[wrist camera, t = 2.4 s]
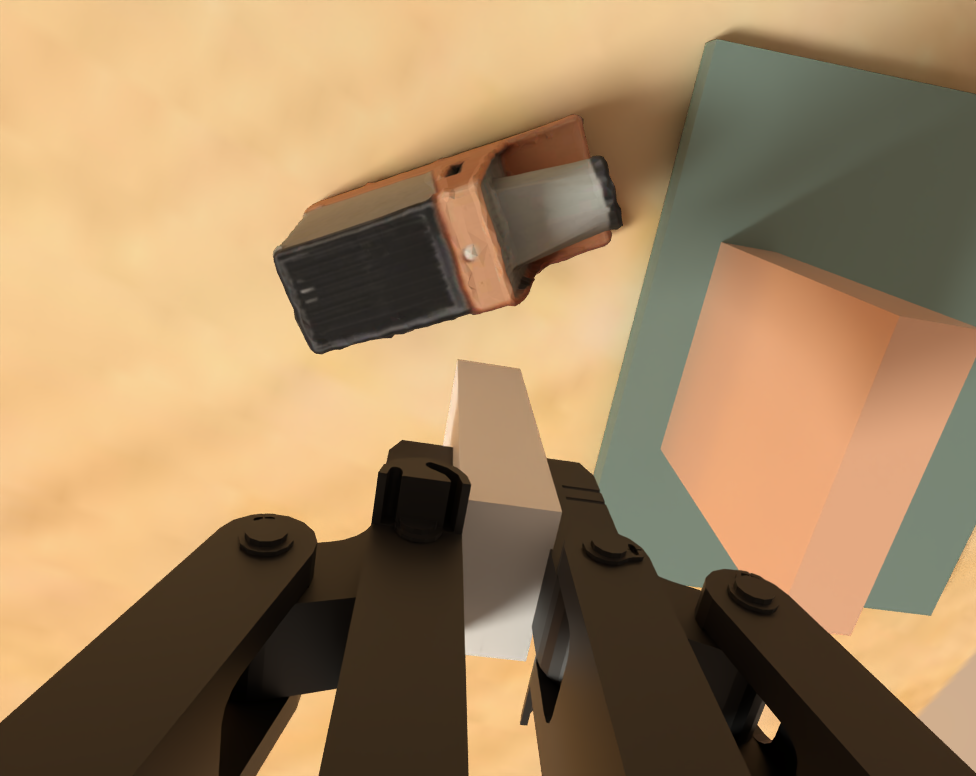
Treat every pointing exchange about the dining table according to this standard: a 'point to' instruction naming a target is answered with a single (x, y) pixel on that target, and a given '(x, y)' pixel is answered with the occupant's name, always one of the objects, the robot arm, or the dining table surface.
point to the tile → (811, 422)
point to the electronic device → (446, 237)
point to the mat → (818, 242)
